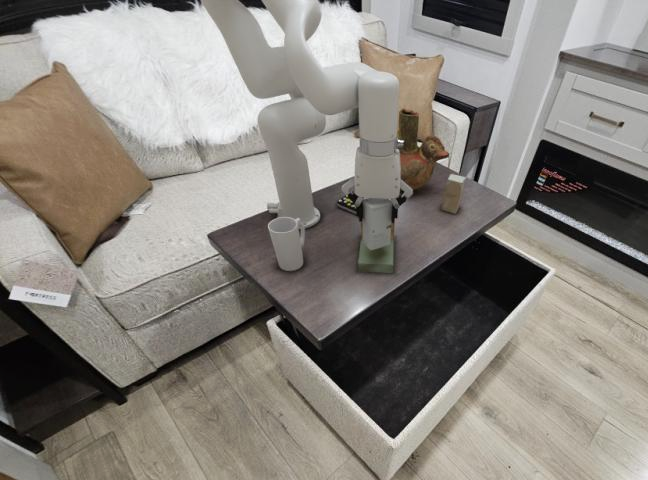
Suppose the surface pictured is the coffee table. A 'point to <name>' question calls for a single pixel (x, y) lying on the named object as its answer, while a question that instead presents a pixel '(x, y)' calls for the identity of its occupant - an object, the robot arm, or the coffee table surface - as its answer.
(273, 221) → the mug
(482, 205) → the coffee table surface
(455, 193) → the box
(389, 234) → the white medicine box
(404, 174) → the ceramic vessel
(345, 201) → the remote control
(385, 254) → the wood and green block
